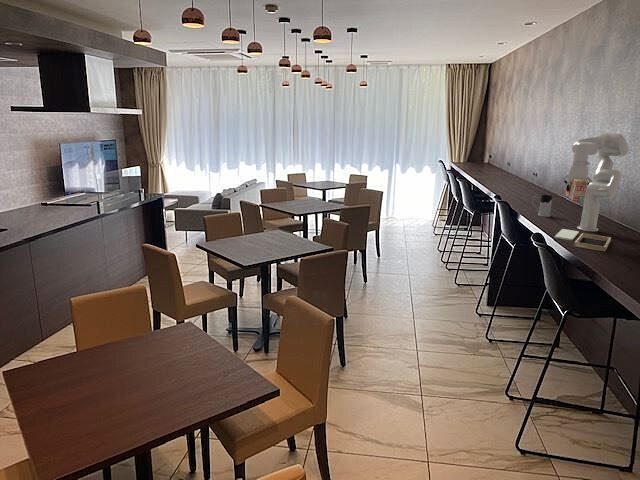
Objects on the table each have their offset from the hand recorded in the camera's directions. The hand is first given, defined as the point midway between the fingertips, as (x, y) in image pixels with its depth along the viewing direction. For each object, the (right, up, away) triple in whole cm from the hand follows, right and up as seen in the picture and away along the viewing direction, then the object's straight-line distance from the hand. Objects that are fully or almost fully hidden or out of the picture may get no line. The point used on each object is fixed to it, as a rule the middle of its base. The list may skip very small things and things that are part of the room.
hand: (575, 192), depth 307 cm
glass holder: (+9, -11, +69) cm, 71 cm away
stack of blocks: (0, -4, +1) cm, 4 cm away
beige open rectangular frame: (+4, -32, -11) cm, 34 cm away
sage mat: (-1, -27, +8) cm, 28 cm away
